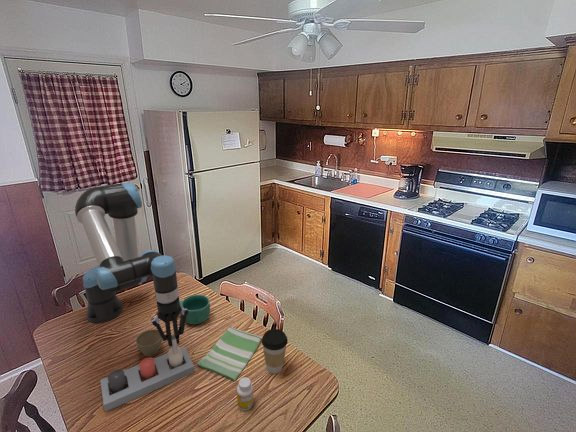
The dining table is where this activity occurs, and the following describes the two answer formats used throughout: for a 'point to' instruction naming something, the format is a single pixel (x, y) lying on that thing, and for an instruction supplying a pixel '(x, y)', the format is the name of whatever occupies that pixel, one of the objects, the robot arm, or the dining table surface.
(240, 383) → the supplement bottle
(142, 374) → the button red
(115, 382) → the button black
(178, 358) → the button ivory
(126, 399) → the panel
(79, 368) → the dining table surface
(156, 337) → the flower pot
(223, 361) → the dish towel
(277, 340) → the coffee cup
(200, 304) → the mug
